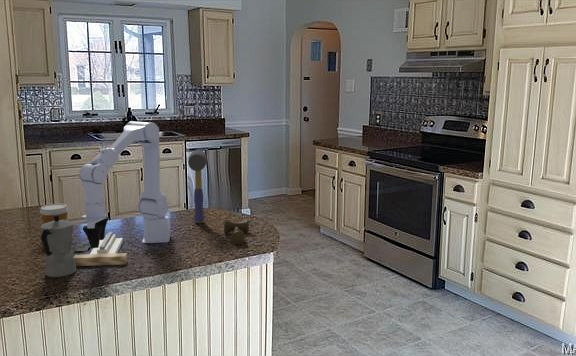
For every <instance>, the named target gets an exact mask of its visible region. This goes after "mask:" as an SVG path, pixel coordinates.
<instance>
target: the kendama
mask: <svg viewBox="0 0 576 356" xmlns="http://www.w3.org/2000/svg"><path fill="white" fill-rule="evenodd" d="M249 231H250V221H249V219H244V220H242V221H236V220H235V221H234V222H233V221H231V220H229V219H227V218H225V219H224V222H223V232H224V233H223V234H224V235H228V234H229V233H230V241H231V243H232V244H233V245H242V244H244V242H245V241H246V240H245V239H246V235H247V234H248V235H249ZM245 234H246V235H245Z"/></svg>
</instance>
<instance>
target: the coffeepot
mask: <svg viewBox="0 0 576 356" xmlns="http://www.w3.org/2000/svg"><path fill="white" fill-rule="evenodd" d="M53 217H54V220H55V221H51V222H48V223H45V224H44V223H41V225H40V231H41V236H40V240H41V243H42V245H43V249H44V252H45V255H46V259H45V260H46V261H45V269H44V270H45V271H44V275H45V276H47V277H49V278H62V277H65V276H70V275H72V274H75V272H76V271H77V266H76V264H75V260H74V256H75V255H74V251H73V249H72V243H73V227H74V221H71V220H70V219H67V220H59V215H54V216H53Z"/></svg>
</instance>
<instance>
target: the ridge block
mask: <svg viewBox="0 0 576 356" xmlns="http://www.w3.org/2000/svg"><path fill="white" fill-rule="evenodd" d="M113 233H114V231H109V232H108V233H107V234H105V237H104V239H103V240H100V241H99V247H98V248H92V249H91V252H90V253H89V254H113V253H118V252H119V251H120V250H121V247H122V245H123V242H124V238H123V237H116V233H114V234H113Z"/></svg>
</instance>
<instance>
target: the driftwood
mask: <svg viewBox="0 0 576 356" xmlns="http://www.w3.org/2000/svg"><path fill="white" fill-rule="evenodd" d="M105 237H106V235H104V238H105ZM86 240H88V237H87V238H84V239H82V241H86ZM82 241H80V242H79V243H80V244H79V243H78V244H76V245H77V247H76V248H77V249H76V252H89V251H88V250H89V248H91V246H90V243H89V242H86V243H85V242H82ZM88 241H89V240H88Z"/></svg>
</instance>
